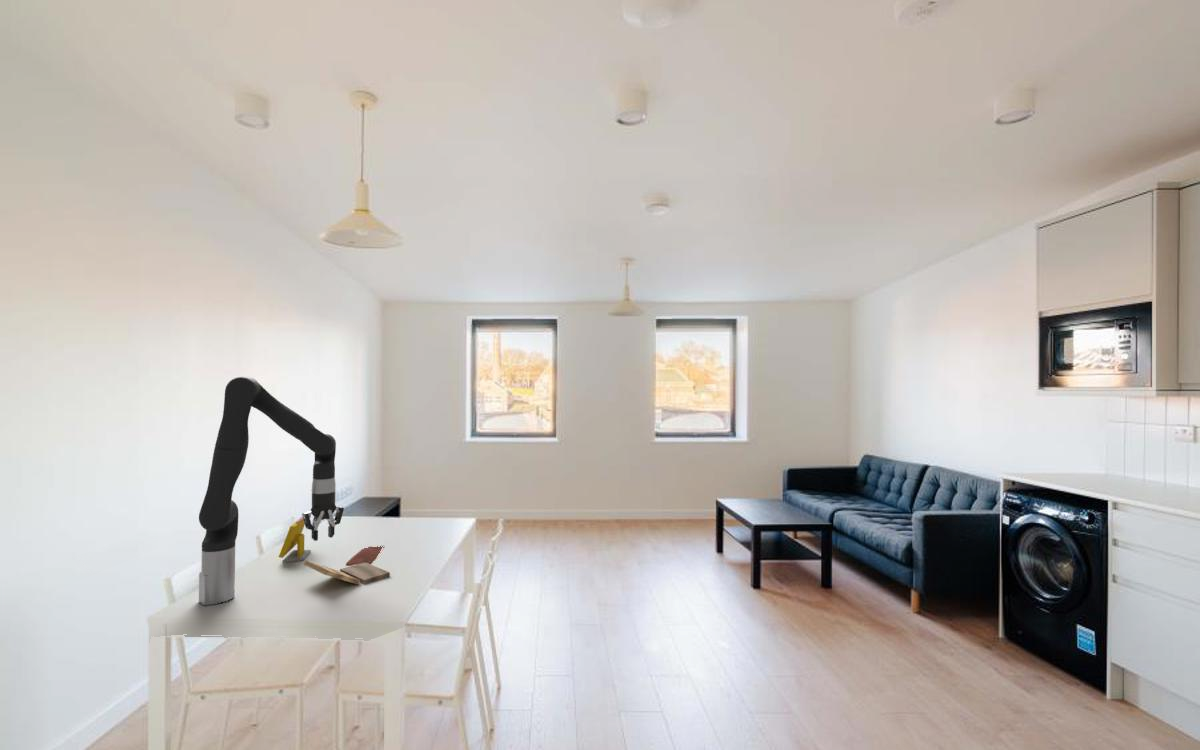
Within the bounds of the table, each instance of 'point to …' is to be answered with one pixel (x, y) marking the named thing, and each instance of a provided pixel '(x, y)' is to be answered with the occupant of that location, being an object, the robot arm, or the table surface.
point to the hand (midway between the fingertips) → (323, 538)
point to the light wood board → (332, 572)
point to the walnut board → (365, 572)
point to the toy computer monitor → (294, 543)
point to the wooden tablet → (365, 556)
